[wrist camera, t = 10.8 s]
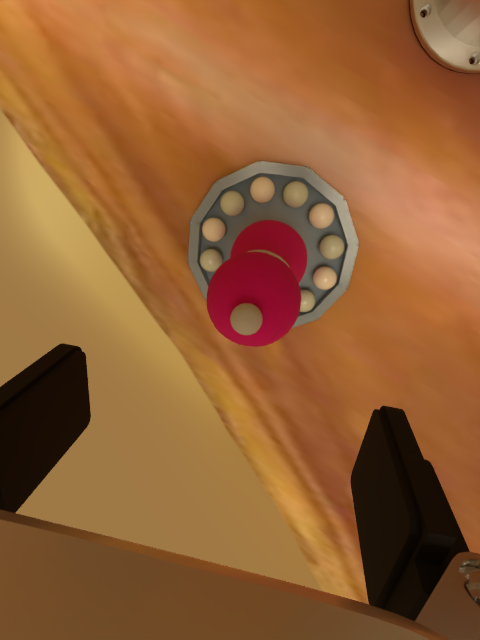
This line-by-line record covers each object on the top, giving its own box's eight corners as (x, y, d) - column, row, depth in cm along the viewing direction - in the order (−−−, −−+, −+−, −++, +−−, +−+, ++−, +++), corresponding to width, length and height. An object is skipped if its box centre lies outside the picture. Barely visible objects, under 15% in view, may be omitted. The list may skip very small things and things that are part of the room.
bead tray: (200, 153, 35) (191, 151, 32) (371, 175, 34) (379, 175, 30) (190, 308, 42) (181, 319, 39) (332, 332, 40) (335, 346, 37)
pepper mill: (286, 294, 38) (275, 403, 20) (227, 265, 38) (160, 349, 20) (319, 234, 35) (341, 297, 17) (255, 202, 35) (207, 232, 17)
